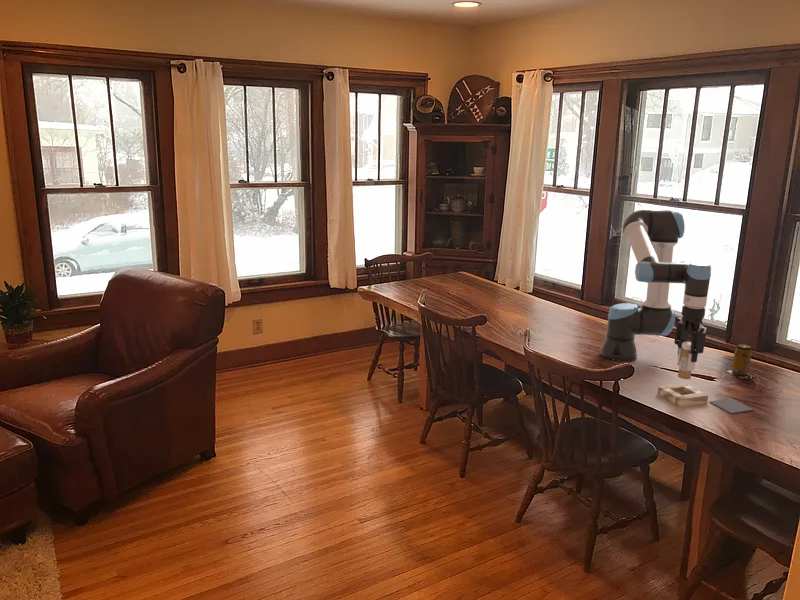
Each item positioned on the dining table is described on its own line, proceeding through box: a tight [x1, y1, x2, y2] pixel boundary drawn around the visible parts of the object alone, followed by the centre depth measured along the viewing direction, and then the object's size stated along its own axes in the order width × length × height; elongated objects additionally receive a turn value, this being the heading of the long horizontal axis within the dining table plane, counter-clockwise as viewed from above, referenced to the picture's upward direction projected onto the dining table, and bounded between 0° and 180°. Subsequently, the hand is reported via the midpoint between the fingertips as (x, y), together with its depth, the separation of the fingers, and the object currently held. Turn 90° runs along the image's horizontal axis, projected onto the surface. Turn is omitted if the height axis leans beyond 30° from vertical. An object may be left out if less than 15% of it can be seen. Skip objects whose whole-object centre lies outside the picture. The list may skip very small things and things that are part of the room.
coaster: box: [709, 398, 754, 415], centre depth 223 cm, size 10×10×1 cm
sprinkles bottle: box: [677, 341, 693, 380], centre depth 227 cm, size 5×5×14 cm
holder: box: [657, 382, 709, 408], centre depth 230 cm, size 12×12×3 cm
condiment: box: [726, 343, 753, 379], centre depth 253 cm, size 7×8×12 cm
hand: (685, 366), depth 227 cm, fingers closed on sprinkles bottle, 4 cm apart
